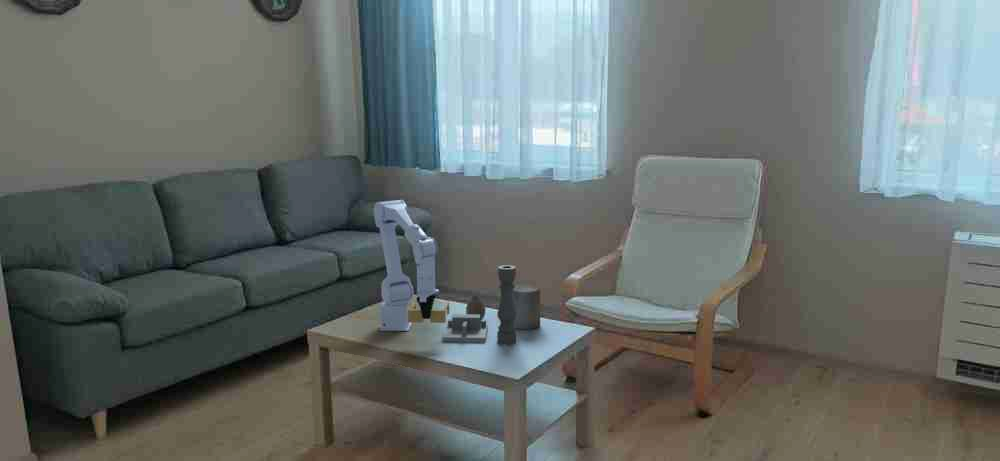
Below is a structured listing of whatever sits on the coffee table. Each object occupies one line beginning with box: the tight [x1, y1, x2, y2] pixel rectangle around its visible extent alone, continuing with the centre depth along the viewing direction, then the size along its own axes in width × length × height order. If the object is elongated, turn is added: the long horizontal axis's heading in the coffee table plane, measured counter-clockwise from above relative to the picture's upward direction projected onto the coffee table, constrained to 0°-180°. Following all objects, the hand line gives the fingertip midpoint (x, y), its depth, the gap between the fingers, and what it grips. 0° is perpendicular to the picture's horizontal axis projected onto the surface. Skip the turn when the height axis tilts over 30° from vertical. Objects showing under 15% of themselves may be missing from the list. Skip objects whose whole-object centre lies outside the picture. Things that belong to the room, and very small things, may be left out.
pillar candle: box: [513, 283, 541, 331], centre depth 262 cm, size 10×10×15 cm
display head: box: [442, 313, 489, 343], centre depth 253 cm, size 13×14×6 cm
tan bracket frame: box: [408, 300, 450, 324], centre depth 249 cm, size 11×12×4 cm
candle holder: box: [496, 264, 517, 346], centre depth 245 cm, size 6×6×25 cm
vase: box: [465, 295, 486, 322], centre depth 270 cm, size 7×7×9 cm
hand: (426, 317), depth 244 cm, fingers closed on tan bracket frame, 2 cm apart
